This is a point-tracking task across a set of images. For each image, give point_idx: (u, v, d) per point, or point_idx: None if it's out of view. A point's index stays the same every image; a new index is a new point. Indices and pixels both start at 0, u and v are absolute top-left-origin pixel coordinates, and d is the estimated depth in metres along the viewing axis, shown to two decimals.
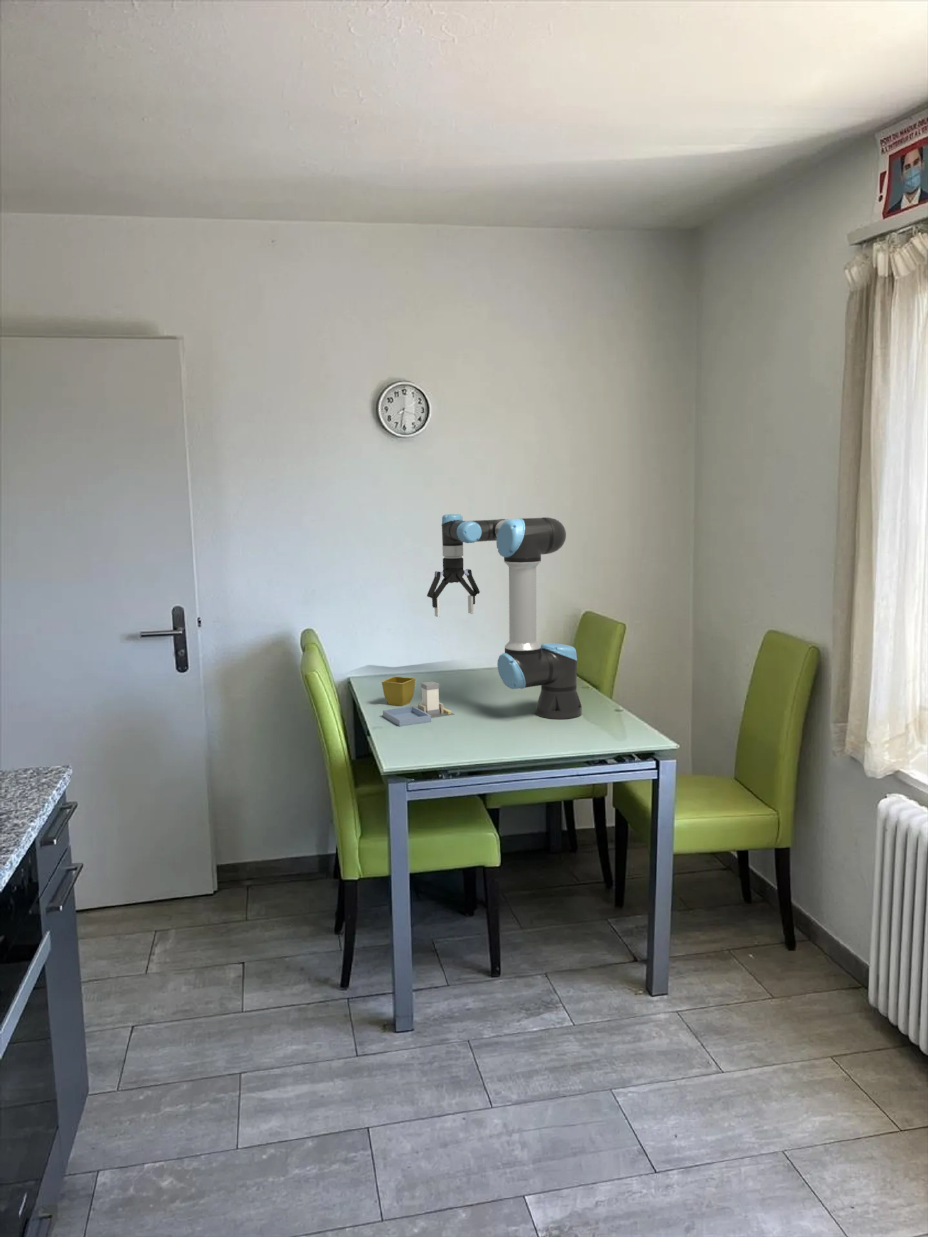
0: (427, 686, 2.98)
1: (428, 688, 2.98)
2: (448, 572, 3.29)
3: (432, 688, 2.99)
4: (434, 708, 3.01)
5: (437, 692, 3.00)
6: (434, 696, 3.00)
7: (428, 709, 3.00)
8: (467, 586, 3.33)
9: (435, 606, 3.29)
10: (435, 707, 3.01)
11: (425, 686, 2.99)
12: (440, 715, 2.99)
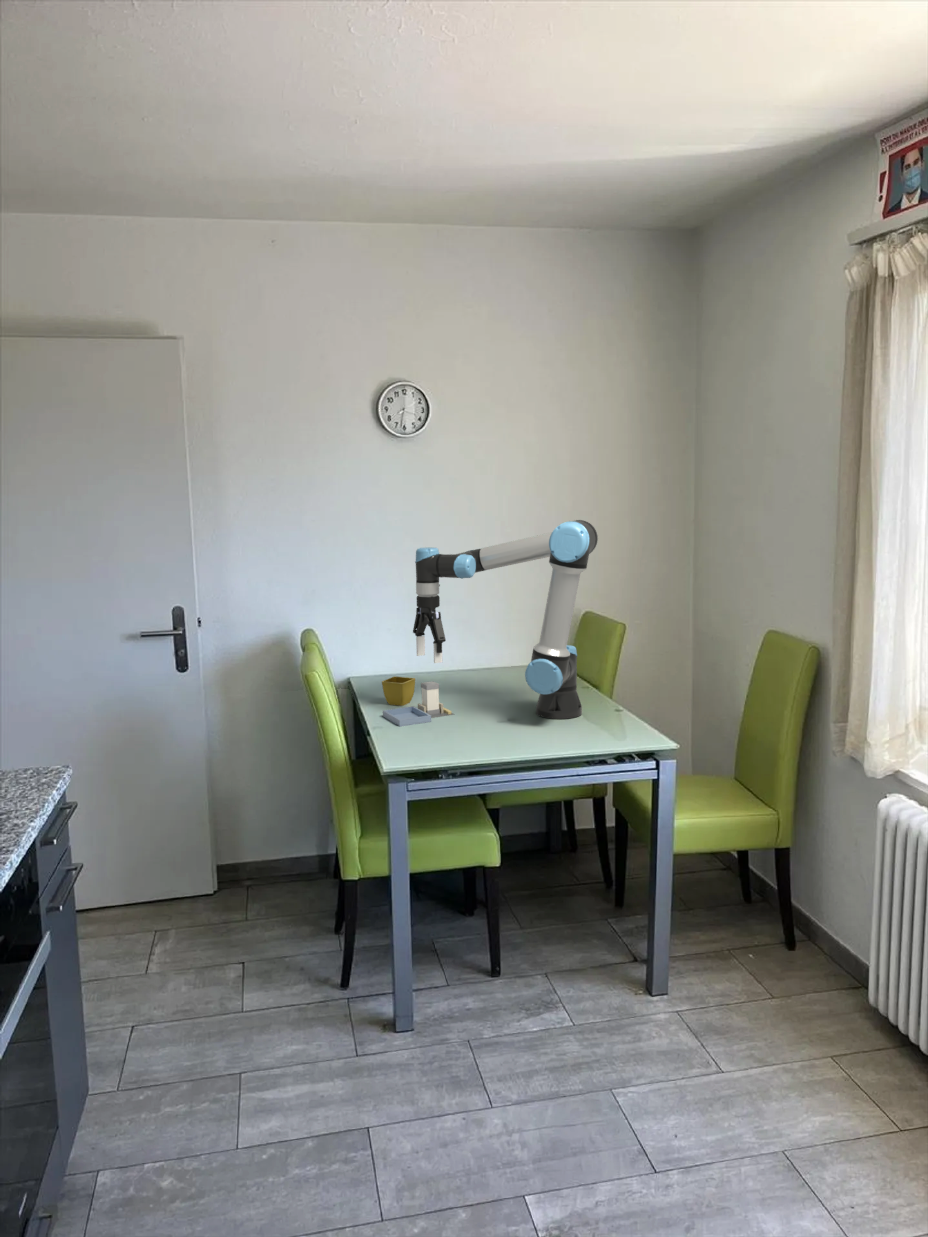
0: (427, 686, 2.98)
1: (428, 688, 2.98)
2: (422, 610, 2.99)
3: (432, 688, 2.99)
4: (434, 708, 3.01)
5: (437, 692, 3.00)
6: (434, 696, 3.00)
7: (428, 709, 3.00)
8: (431, 630, 2.93)
9: None
10: (435, 707, 3.01)
11: (425, 686, 2.99)
12: (440, 715, 2.99)
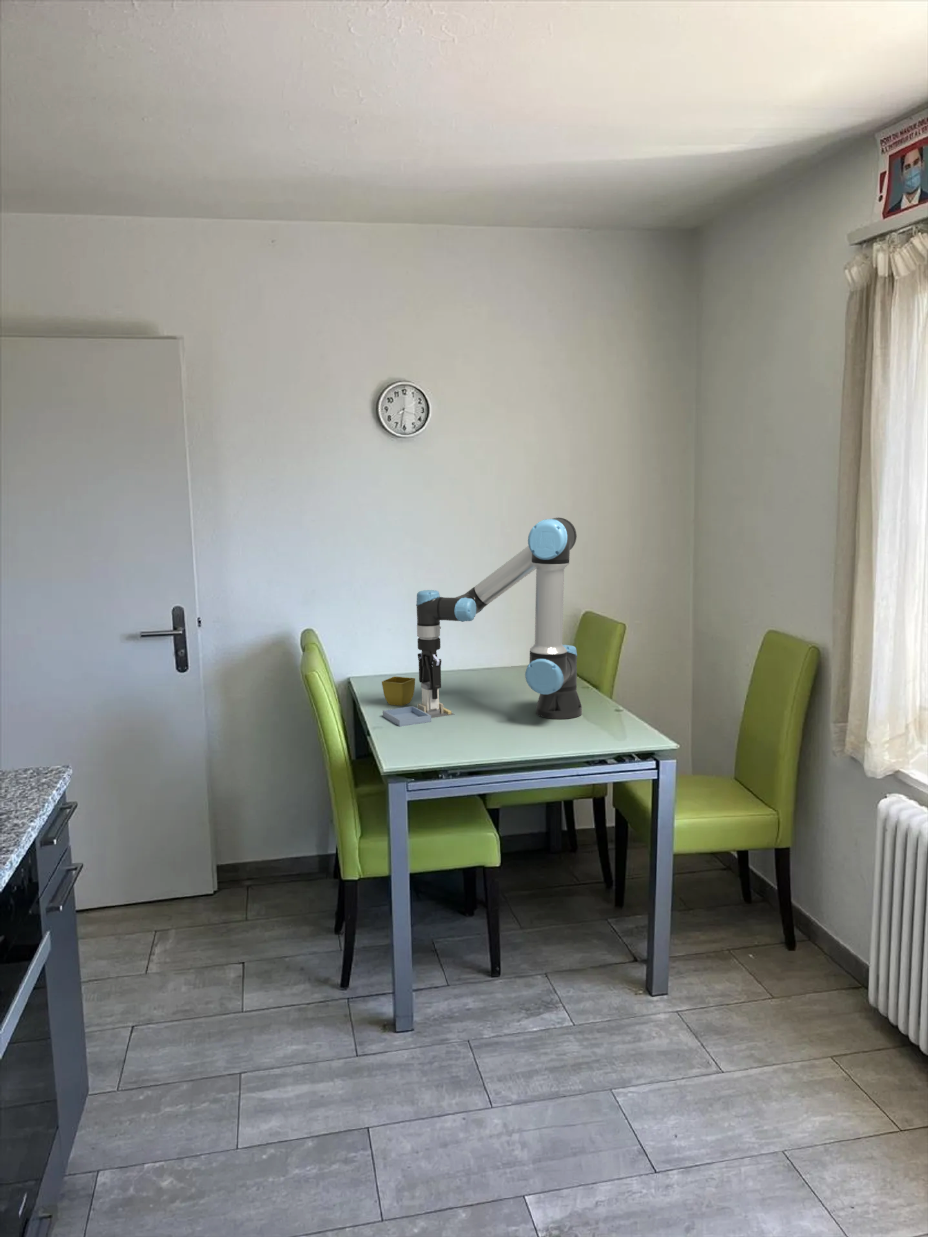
0: (427, 686, 2.98)
1: (428, 688, 2.98)
2: (422, 651, 3.01)
3: None
4: (434, 708, 3.01)
5: None
6: None
7: (428, 709, 3.00)
8: (429, 675, 2.98)
9: None
10: None
11: (425, 686, 2.99)
12: (440, 715, 2.99)
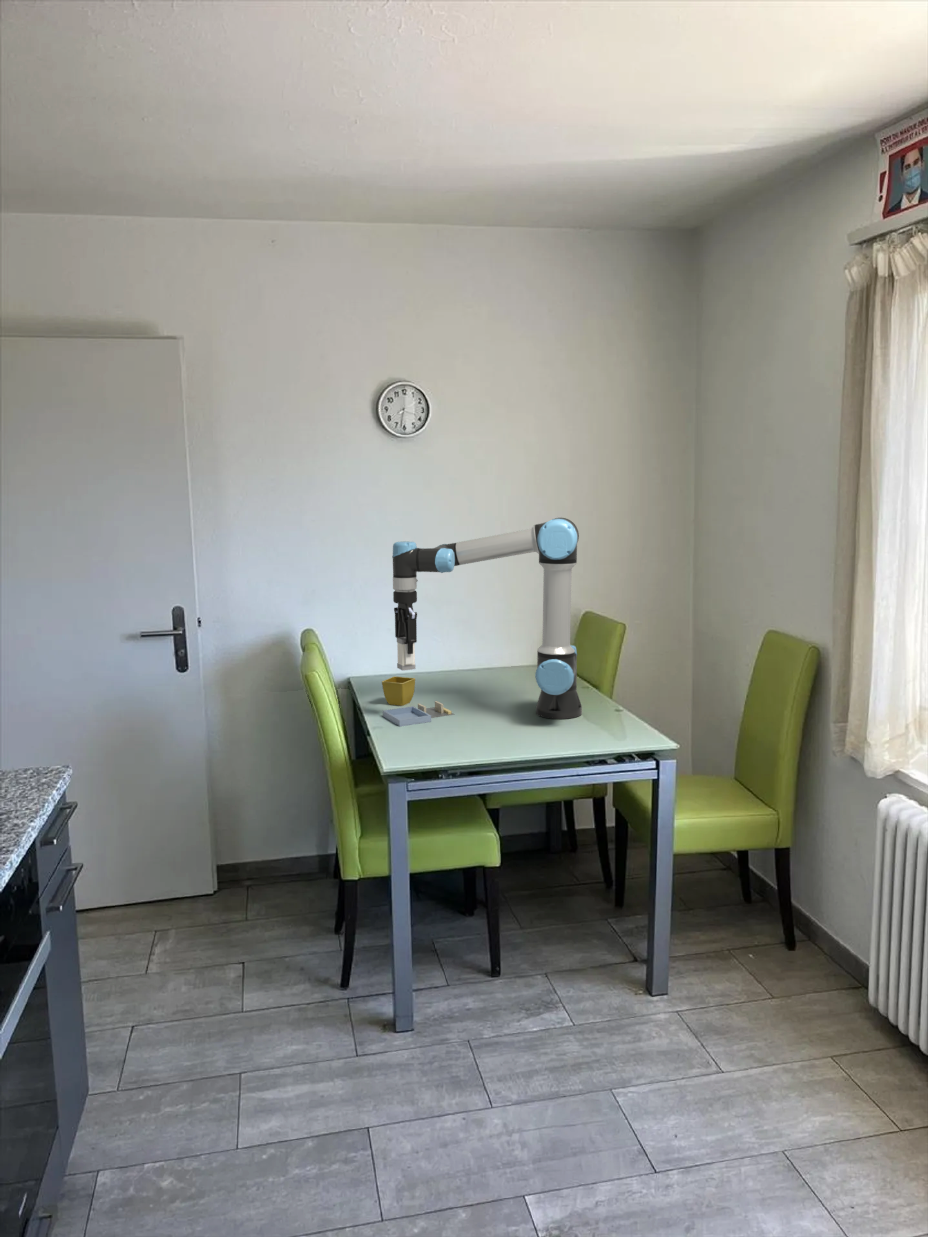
0: (402, 640, 2.89)
1: (403, 642, 2.90)
2: (398, 605, 2.92)
3: None
4: None
5: (413, 647, 2.91)
6: None
7: (403, 664, 2.91)
8: (405, 629, 2.89)
9: None
10: None
11: (400, 640, 2.90)
12: (440, 715, 2.99)
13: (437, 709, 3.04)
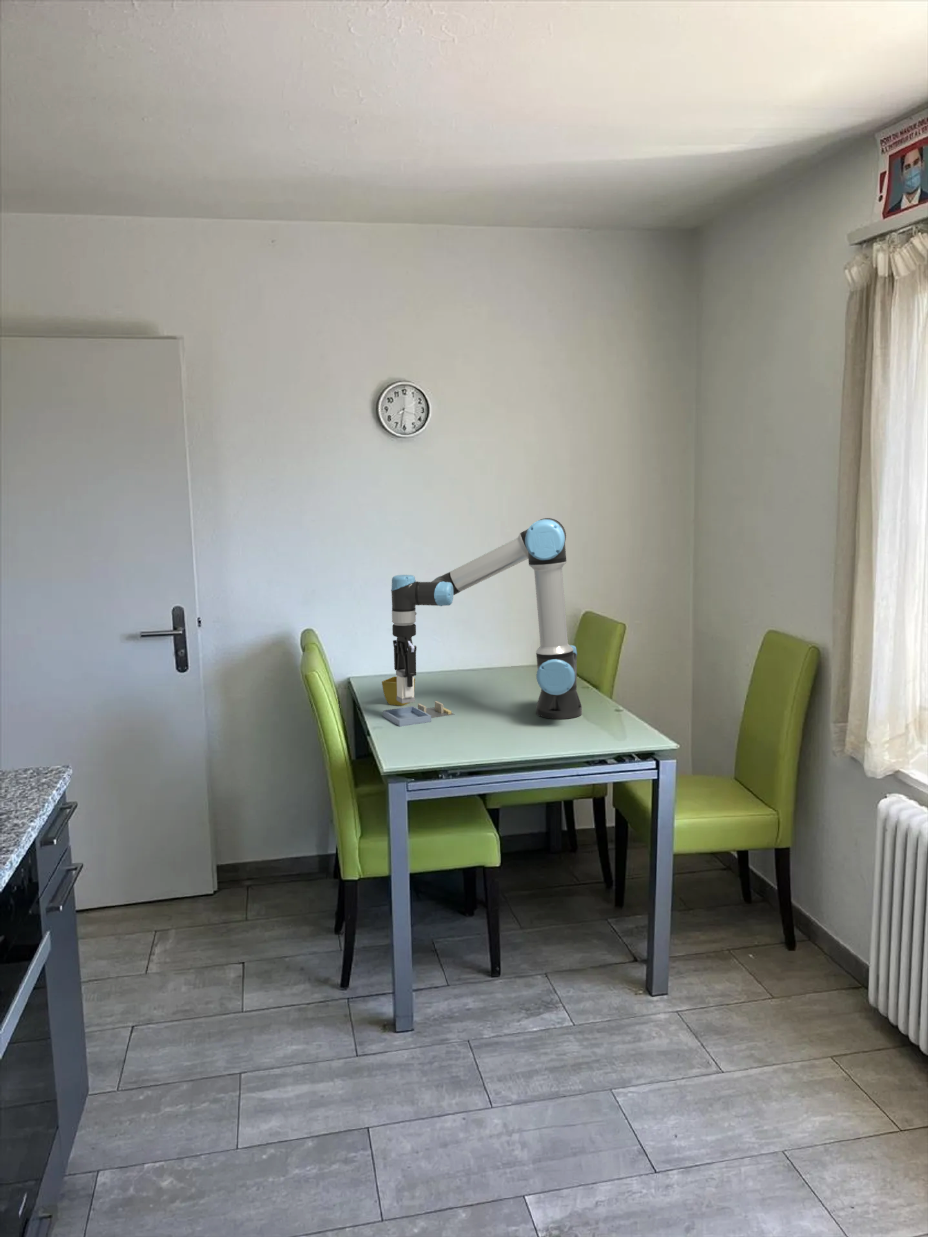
0: (402, 673, 2.90)
1: (403, 675, 2.90)
2: (397, 638, 2.93)
3: None
4: None
5: None
6: None
7: (403, 697, 2.92)
8: (404, 662, 2.90)
9: None
10: None
11: (400, 673, 2.91)
12: (440, 715, 2.99)
13: (437, 709, 3.04)
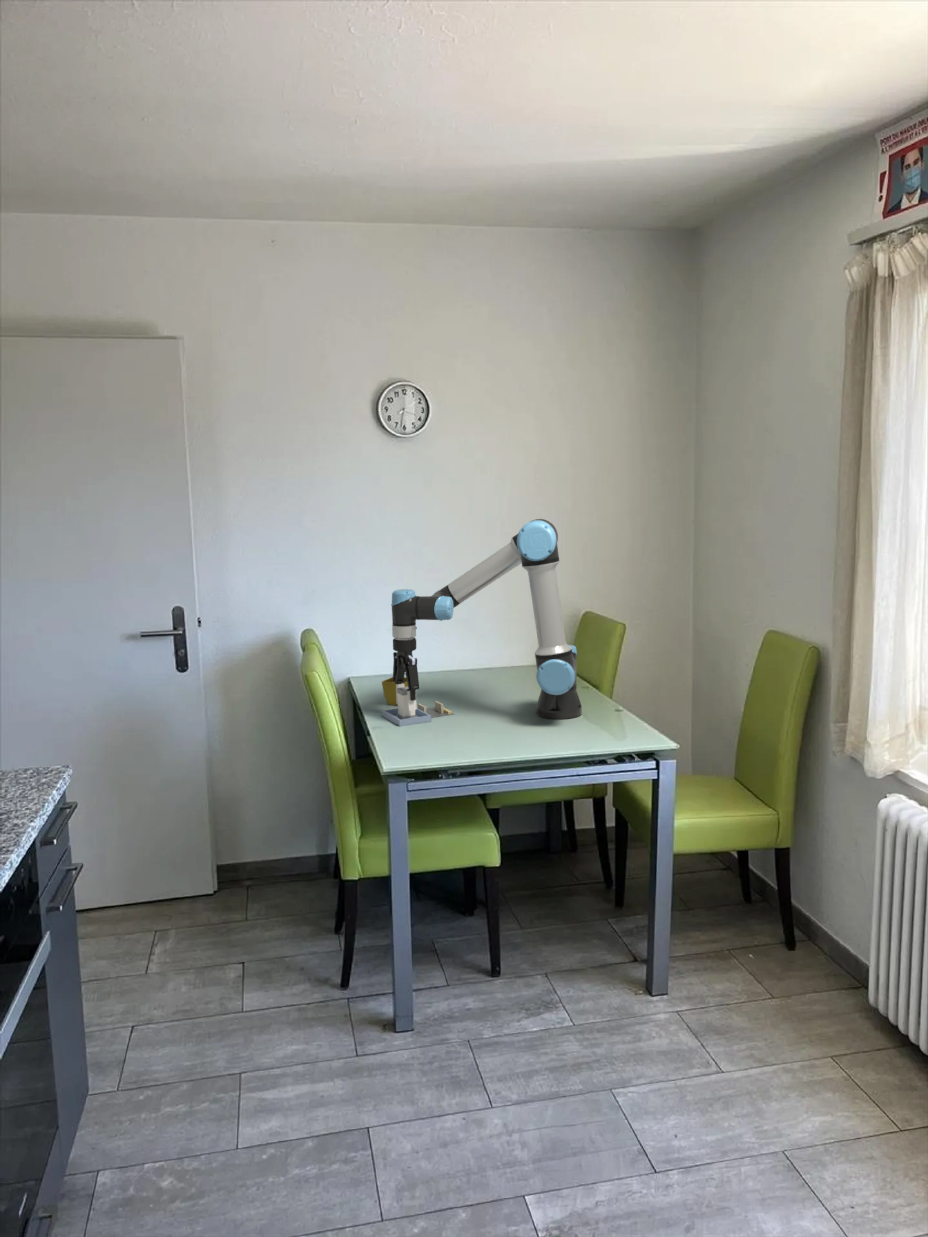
0: (403, 691, 2.91)
1: (404, 693, 2.91)
2: (398, 652, 2.94)
3: None
4: (410, 714, 2.93)
5: None
6: None
7: (404, 715, 2.92)
8: (406, 676, 2.89)
9: None
10: (411, 713, 2.94)
11: (401, 691, 2.92)
12: (440, 715, 2.99)
13: (437, 709, 3.04)
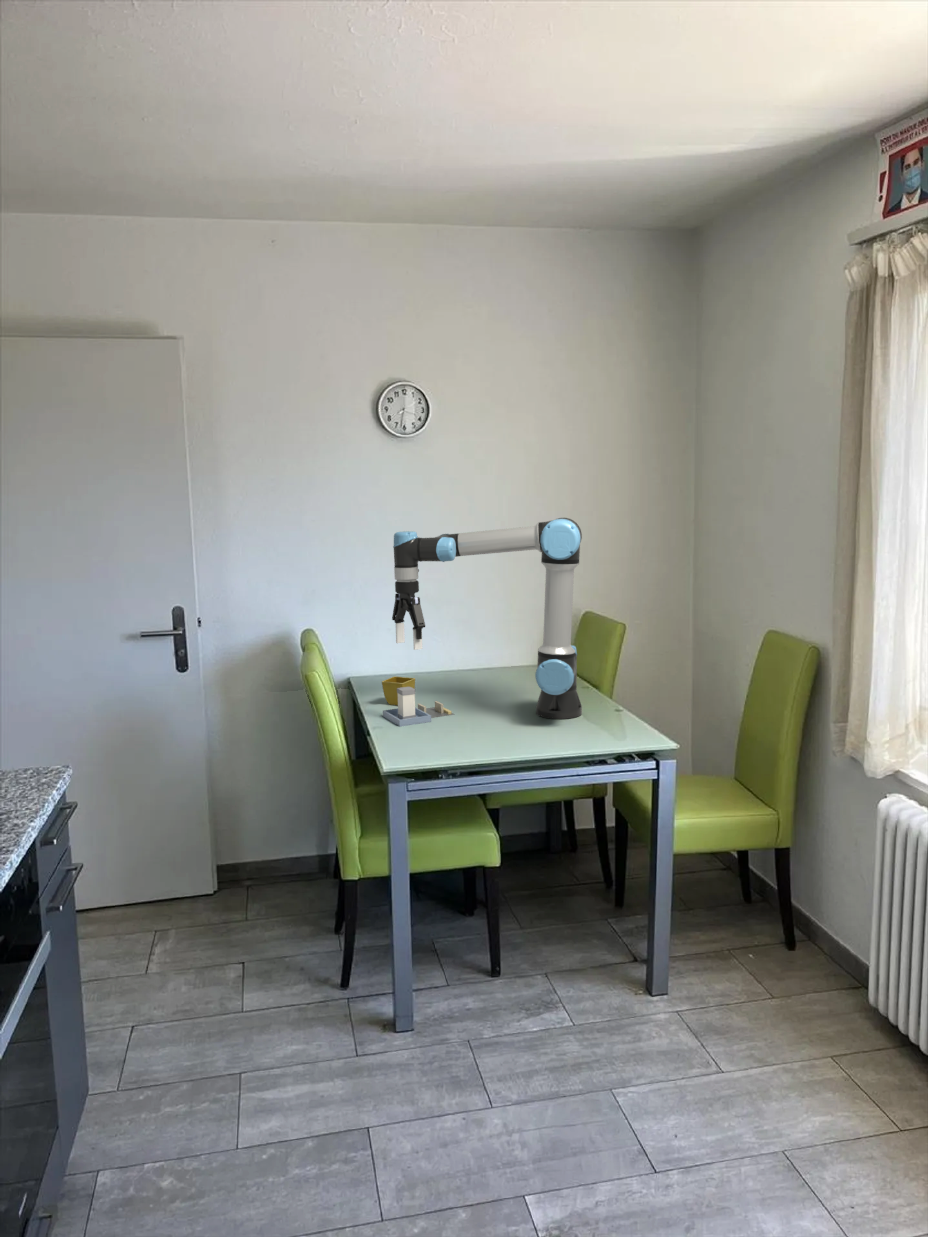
0: (403, 691, 2.91)
1: (404, 693, 2.91)
2: (401, 596, 2.91)
3: (408, 693, 2.92)
4: (410, 714, 2.93)
5: (413, 698, 2.93)
6: (410, 701, 2.93)
7: (404, 715, 2.92)
8: (411, 616, 2.86)
9: None
10: (411, 713, 2.94)
11: (401, 691, 2.92)
12: (440, 715, 2.99)
13: (437, 709, 3.04)
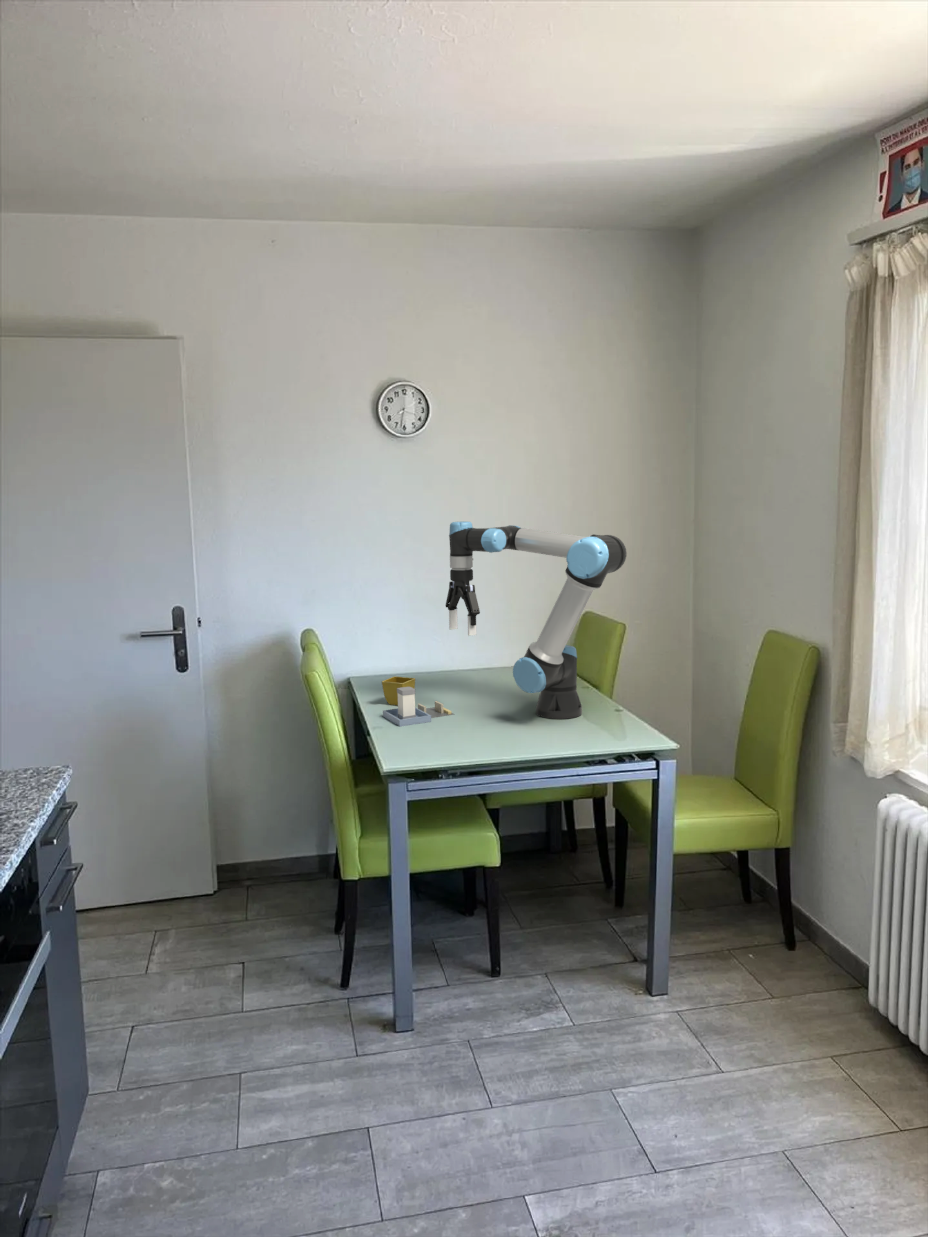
0: (403, 691, 2.91)
1: (404, 693, 2.91)
2: (455, 584, 3.02)
3: (408, 693, 2.92)
4: (410, 714, 2.93)
5: (413, 698, 2.93)
6: (410, 701, 2.93)
7: (404, 715, 2.92)
8: (465, 603, 2.96)
9: None
10: (411, 713, 2.94)
11: (401, 691, 2.92)
12: (440, 715, 2.99)
13: (437, 709, 3.04)
